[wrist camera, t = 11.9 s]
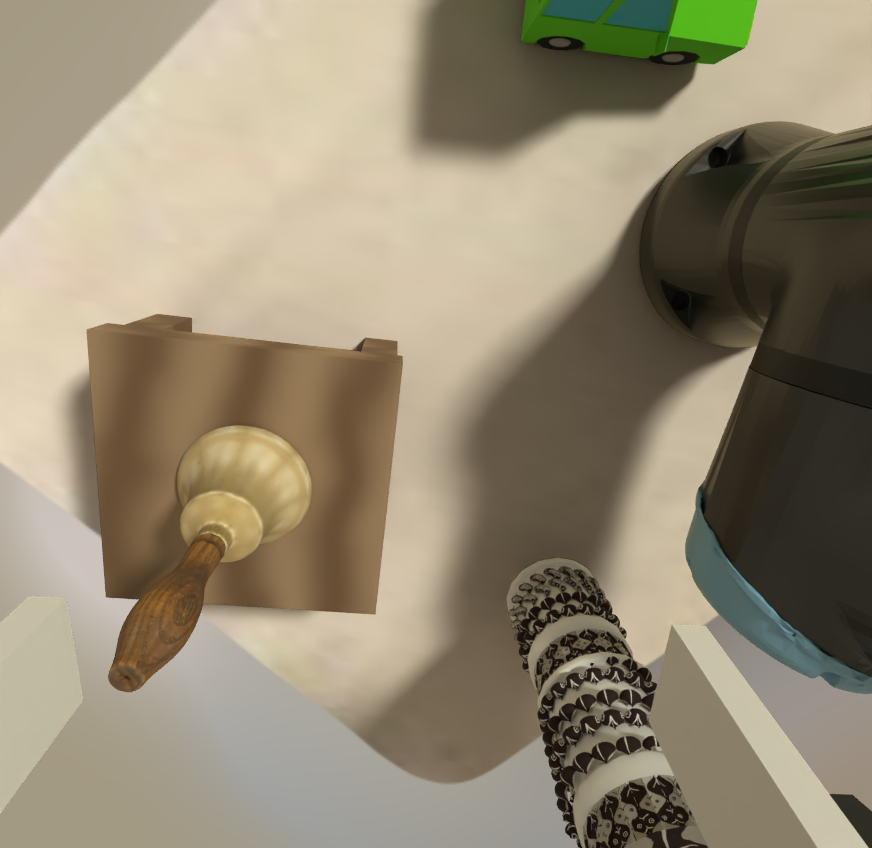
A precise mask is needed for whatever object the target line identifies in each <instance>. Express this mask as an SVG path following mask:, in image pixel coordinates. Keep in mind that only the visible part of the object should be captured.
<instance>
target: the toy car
mask: <svg viewBox="0 0 872 848" xmlns="http://www.w3.org/2000/svg"><path fill="white" fill-rule="evenodd" d="M756 4H757V0H525V8H524V16H523V24H522V32H521V41H520V42H525V43H533V44H535V41H537V44H539V45H541V46H542V47H545V48H549V49H556V50H571V49H577V48H579V47H581V46H583V48H582V50H584V51H592V52H599V53H606V54H614V55H621V56H628V57H636V58H646V59H647V58H648V57H649V59H650V60H651V61H652V62H655V63H659V64H666V65H679V64H687V63H690V62H693V61H694V63H704V64H715V63H717V62H719V61H721V60H723V59H725V58H727V57H729V56H730V55H732V54H734V53H736V52H738V51H740V50H742V49H744V48H745V46H746V45H747V42H748V40H749V36H750V32H751V27H752V23H753V19H754V12H755V8H756Z"/></svg>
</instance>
